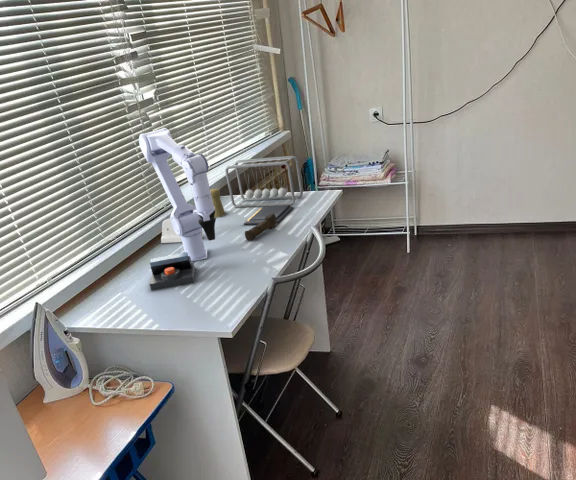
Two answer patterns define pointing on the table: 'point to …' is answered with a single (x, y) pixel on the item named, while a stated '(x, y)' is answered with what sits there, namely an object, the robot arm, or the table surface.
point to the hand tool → (261, 227)
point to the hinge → (169, 233)
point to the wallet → (265, 211)
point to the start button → (169, 270)
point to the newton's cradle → (265, 192)
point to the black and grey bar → (170, 263)
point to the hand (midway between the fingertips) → (211, 236)
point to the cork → (217, 203)
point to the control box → (172, 279)
